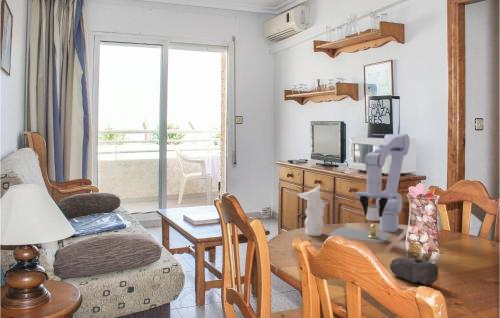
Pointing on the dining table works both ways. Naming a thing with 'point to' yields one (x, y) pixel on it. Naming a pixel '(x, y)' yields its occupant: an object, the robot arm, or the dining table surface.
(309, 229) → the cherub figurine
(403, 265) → the perforated stone tool
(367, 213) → the steel collar
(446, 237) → the dining table surface
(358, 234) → the post board
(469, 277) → the dining table surface
